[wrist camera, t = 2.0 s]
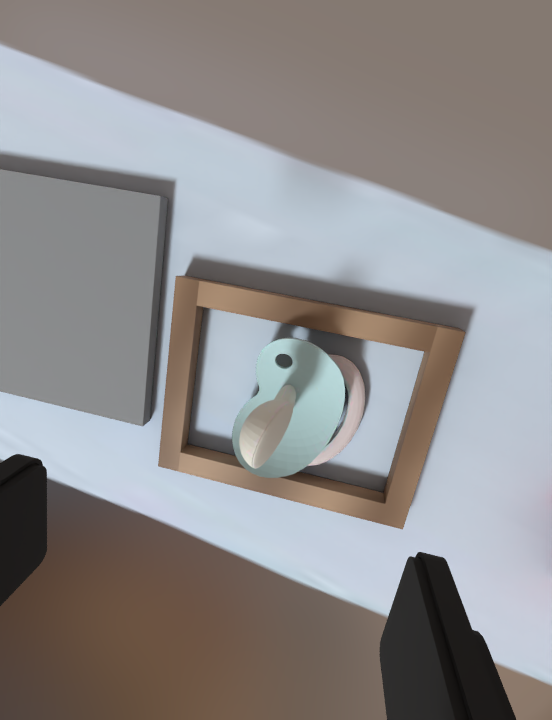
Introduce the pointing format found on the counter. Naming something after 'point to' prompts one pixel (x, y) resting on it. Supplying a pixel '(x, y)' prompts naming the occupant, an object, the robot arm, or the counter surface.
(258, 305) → the pocket frame
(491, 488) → the counter surface
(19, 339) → the slate mat
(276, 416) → the pacifier
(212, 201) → the counter surface
